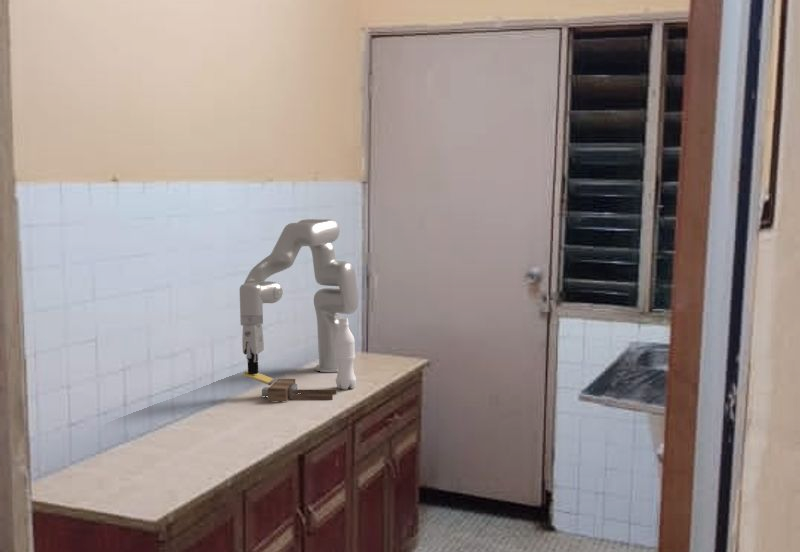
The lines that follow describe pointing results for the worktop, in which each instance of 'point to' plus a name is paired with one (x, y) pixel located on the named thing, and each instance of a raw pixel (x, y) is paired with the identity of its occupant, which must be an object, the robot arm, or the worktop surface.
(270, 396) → the block
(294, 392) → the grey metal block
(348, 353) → the water bottle
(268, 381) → the yellow grey-edged tile
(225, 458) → the worktop surface
